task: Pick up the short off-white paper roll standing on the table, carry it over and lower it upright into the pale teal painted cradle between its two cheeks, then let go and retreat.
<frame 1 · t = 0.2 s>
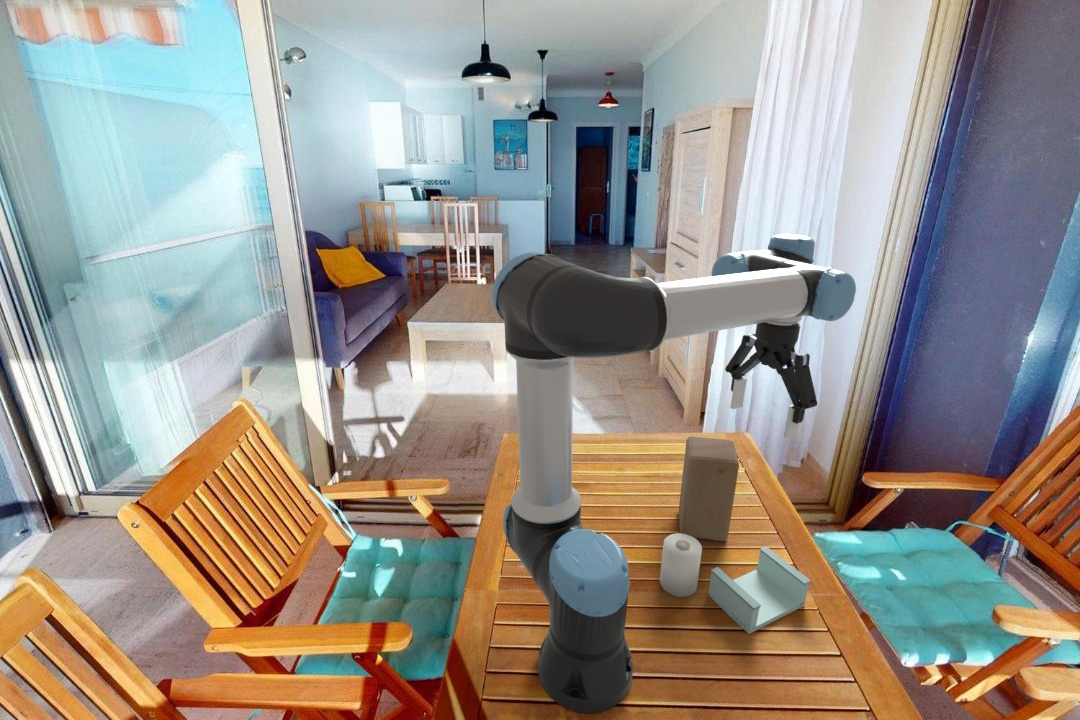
hand: (761, 421, 111), 28 cm above the table, fingers open, 13 cm apart
cradle: (755, 600, 103), on the table
roll: (678, 583, 107), on the table
wooden block: (701, 526, 123), on the table
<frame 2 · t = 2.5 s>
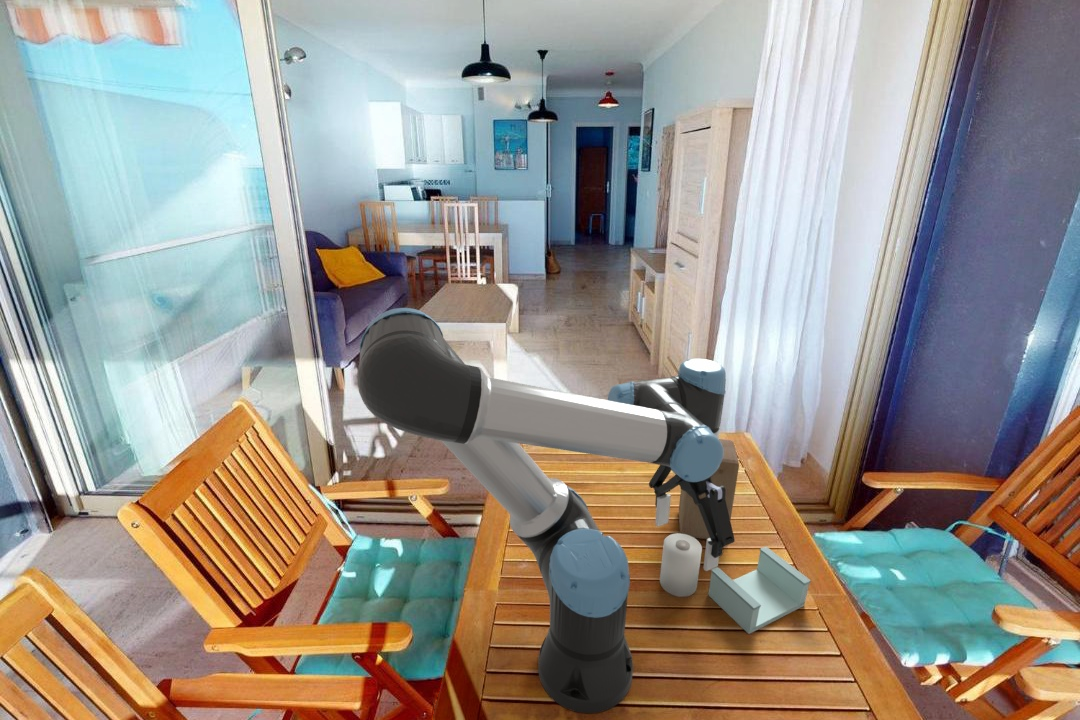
hand: (684, 544, 104), 9 cm above the table, fingers open, 13 cm apart
nothing on the table moved.
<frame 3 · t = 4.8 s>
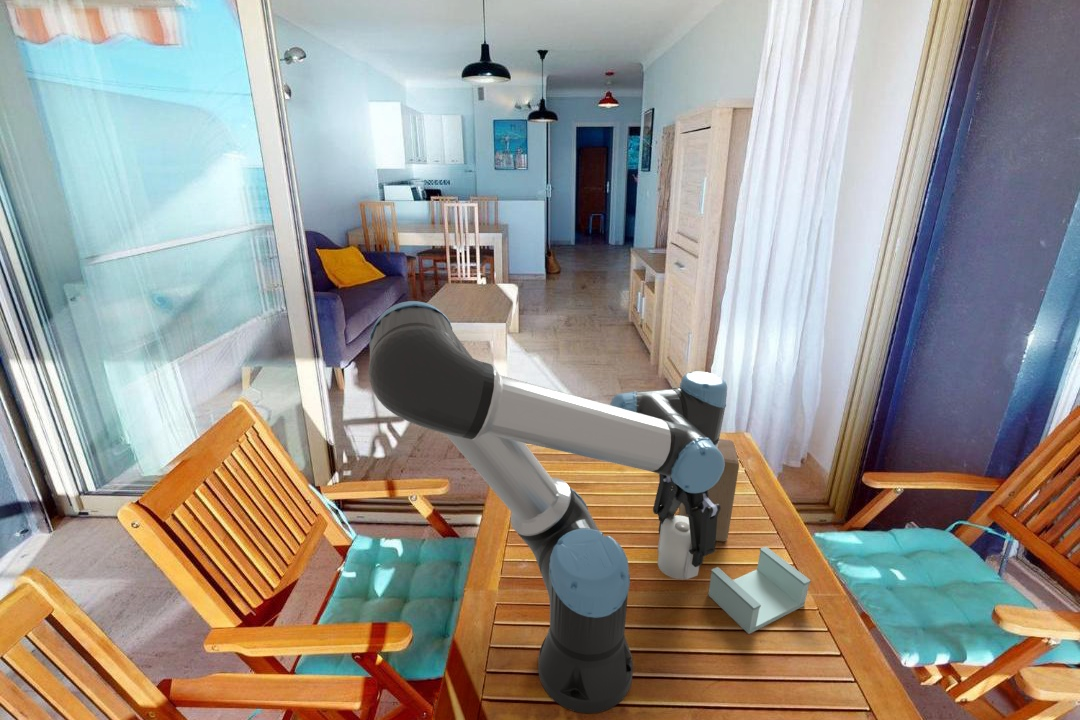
hand: (677, 562, 105), 5 cm above the table, fingers closed on roll, 7 cm apart
roll: (676, 565, 106), point 4 cm above the table, touching gripper
everything else where it was.
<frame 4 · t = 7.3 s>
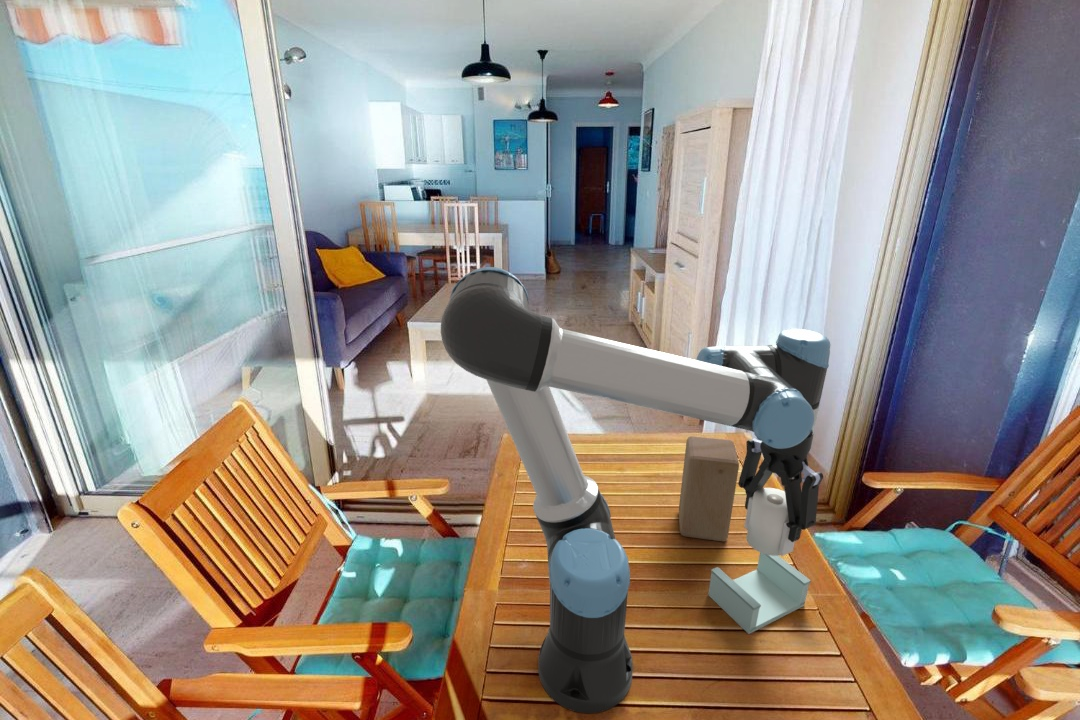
hand: (767, 538, 98), 14 cm above the table, fingers closed on roll, 7 cm apart
roll: (767, 541, 98), point 13 cm above the table, touching gripper
everything else where it was.
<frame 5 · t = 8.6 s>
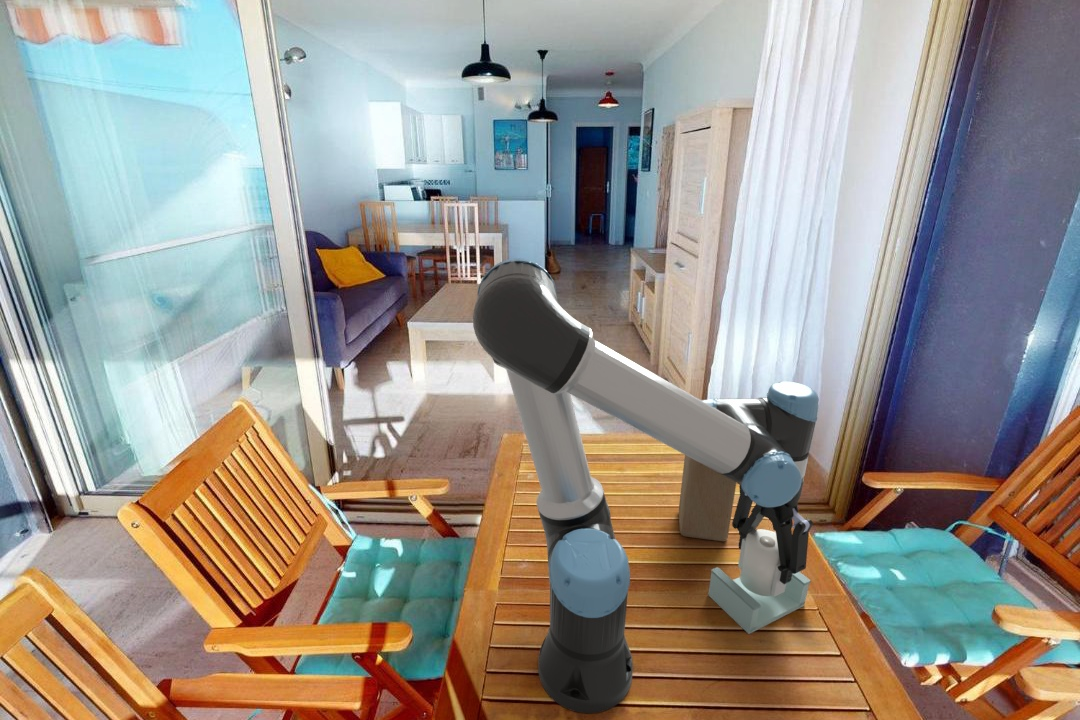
hand: (760, 578, 101), 5 cm above the table, fingers closed on roll, 7 cm apart
roll: (760, 581, 102), point 4 cm above the table, touching gripper
everything else where it was.
when the fingers open (2 cm above the table, at t = 9.7 s): roll stays where it is, resting on cradle.
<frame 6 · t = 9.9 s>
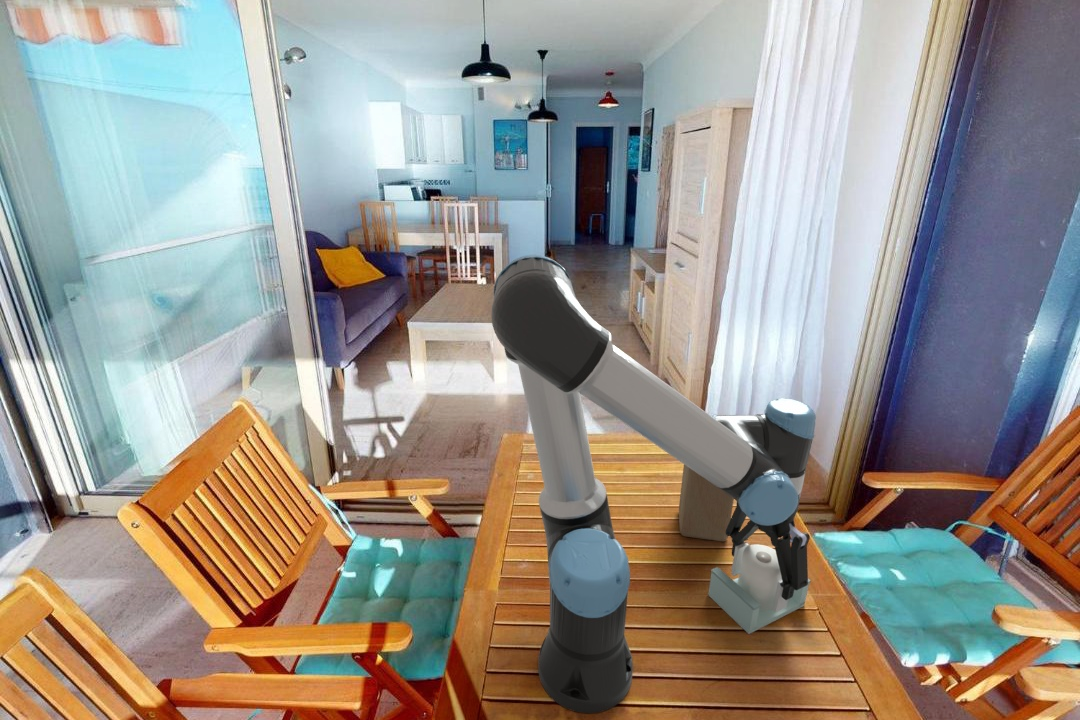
hand: (757, 589, 102), 3 cm above the table, fingers open, 9 cm apart
roll: (756, 596, 103), point 1 cm above the table, touching cradle
everything else where it was.
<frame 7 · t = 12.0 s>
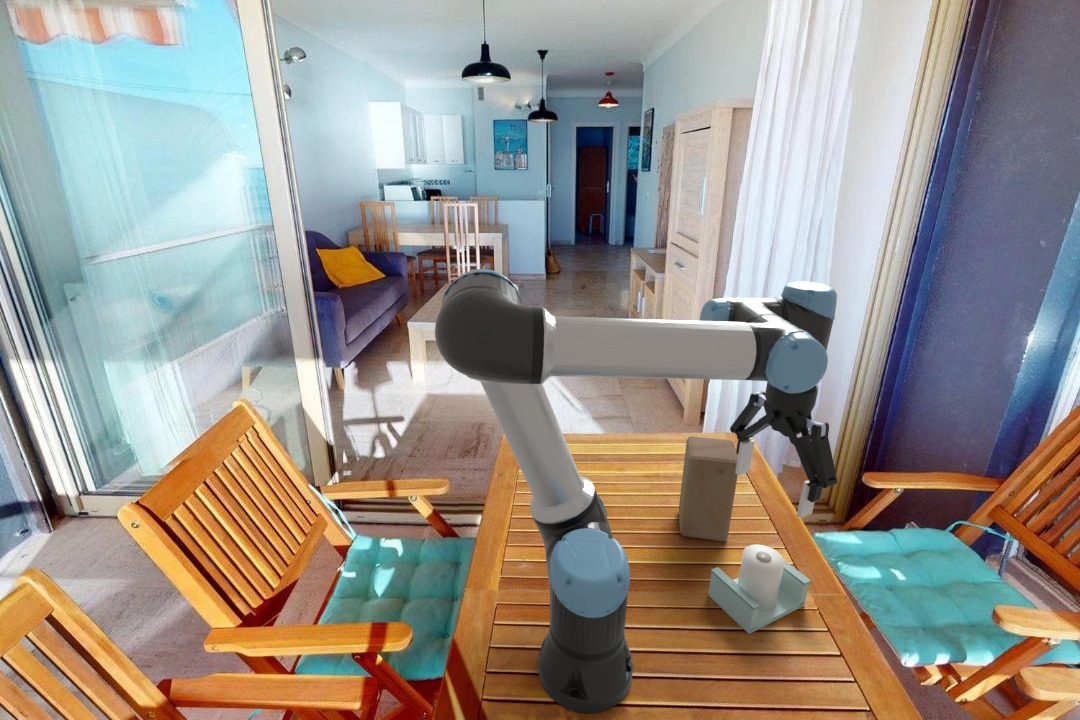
hand: (771, 492, 96), 23 cm above the table, fingers open, 13 cm apart
nothing on the table moved.
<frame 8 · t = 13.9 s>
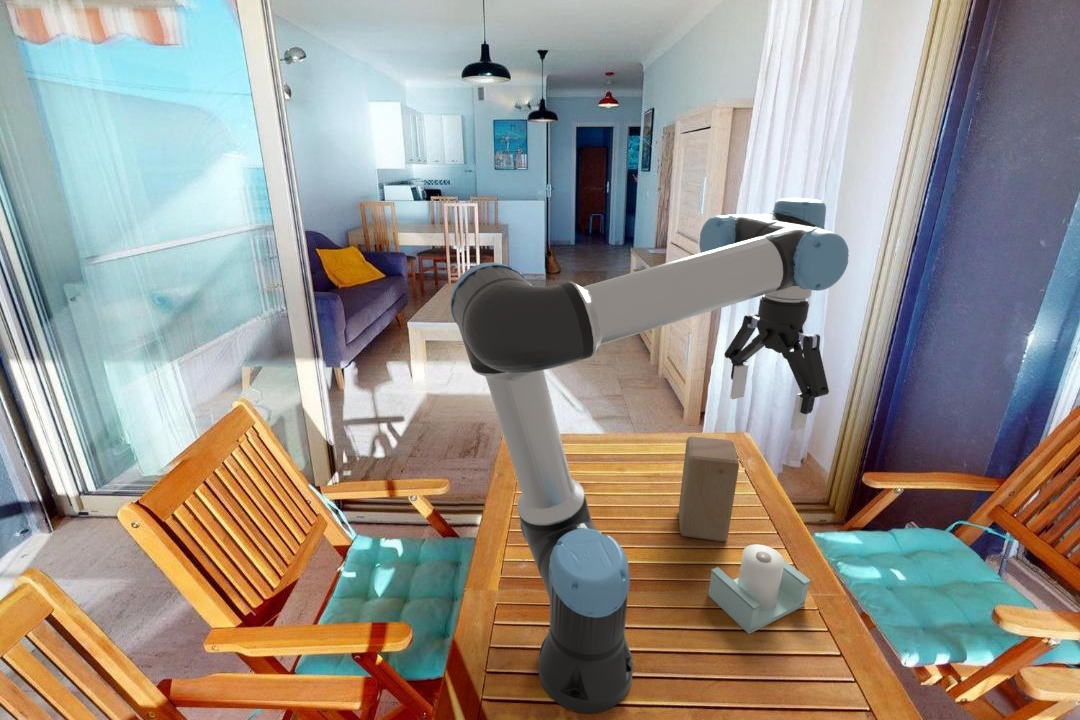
hand: (765, 412, 99), 35 cm above the table, fingers open, 13 cm apart
nothing on the table moved.
at the end: roll 0.0 cm off-centre on the cradle, point 1.0 cm above the cradle's base; roll tilted 0°; the gripper is holding nothing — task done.
